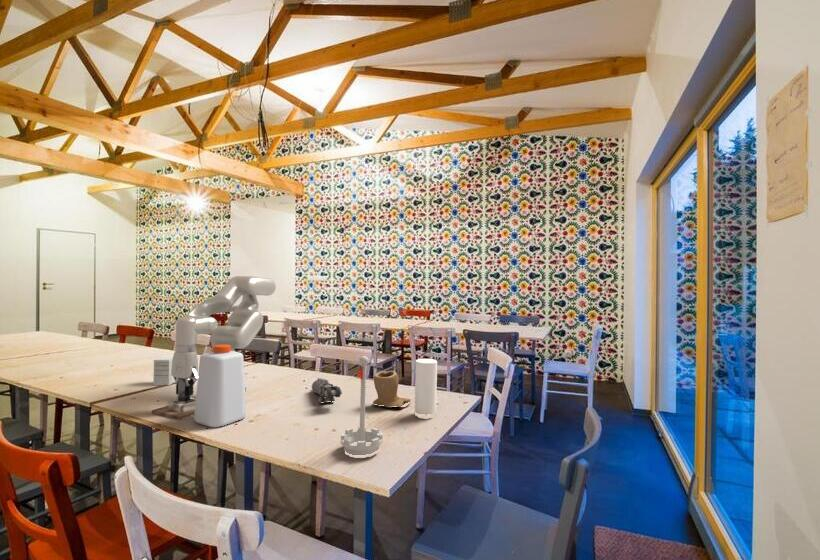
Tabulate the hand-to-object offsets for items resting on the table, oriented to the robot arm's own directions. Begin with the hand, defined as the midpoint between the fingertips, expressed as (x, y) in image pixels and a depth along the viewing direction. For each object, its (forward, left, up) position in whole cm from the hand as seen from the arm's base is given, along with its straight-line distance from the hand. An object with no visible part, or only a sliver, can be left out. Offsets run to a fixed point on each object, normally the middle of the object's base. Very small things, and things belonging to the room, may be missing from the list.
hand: (184, 393), depth 159 cm
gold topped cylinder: (0, 0, -2) cm, 2 cm away
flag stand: (-58, +58, -7) cm, 82 cm away
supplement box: (+16, -47, -7) cm, 50 cm away
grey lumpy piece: (-55, +2, -7) cm, 56 cm away
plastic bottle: (-14, +15, -7) cm, 22 cm away
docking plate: (0, 0, -7) cm, 7 cm away
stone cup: (-80, +19, -7) cm, 83 cm away
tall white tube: (-91, +34, -7) cm, 97 cm away
